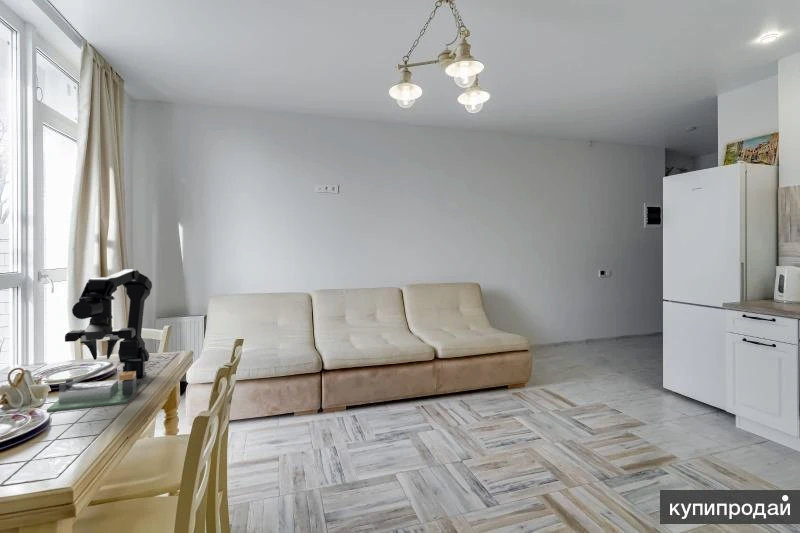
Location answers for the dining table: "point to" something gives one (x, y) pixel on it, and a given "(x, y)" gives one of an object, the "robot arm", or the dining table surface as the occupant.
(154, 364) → the dining table surface
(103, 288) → the robot arm
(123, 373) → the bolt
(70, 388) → the green flat square base
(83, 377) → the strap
